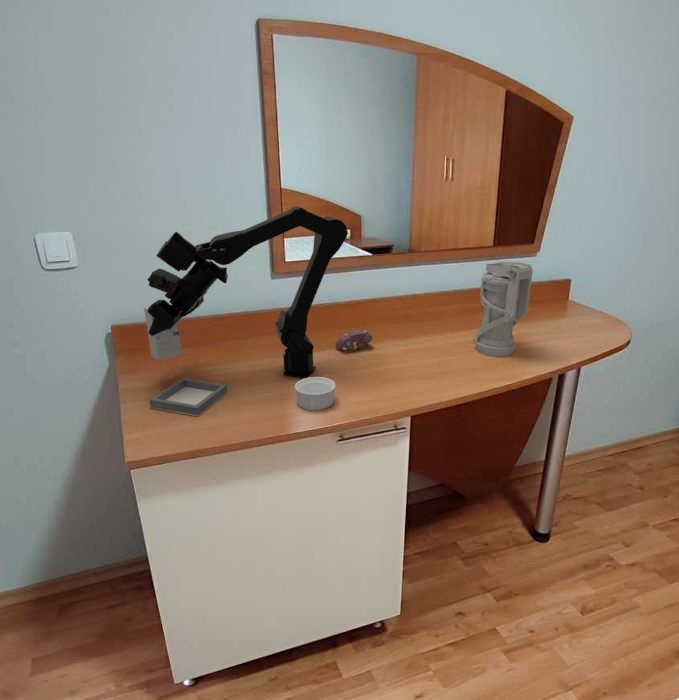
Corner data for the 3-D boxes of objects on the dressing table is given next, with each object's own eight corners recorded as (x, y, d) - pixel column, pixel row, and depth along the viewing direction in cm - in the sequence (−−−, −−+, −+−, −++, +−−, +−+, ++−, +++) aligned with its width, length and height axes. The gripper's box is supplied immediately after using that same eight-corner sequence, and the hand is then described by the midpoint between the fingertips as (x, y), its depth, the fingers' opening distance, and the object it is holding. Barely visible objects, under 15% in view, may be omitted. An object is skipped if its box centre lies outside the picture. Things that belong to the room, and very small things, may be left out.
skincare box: (158, 361, 119) (150, 311, 115) (150, 356, 122) (142, 307, 118) (183, 354, 123) (176, 305, 118) (175, 349, 126) (167, 302, 121)
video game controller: (339, 357, 142) (344, 339, 137) (333, 346, 145) (337, 328, 140) (370, 351, 146) (376, 334, 141) (364, 340, 148) (369, 323, 144)
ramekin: (339, 409, 110) (339, 391, 109) (298, 414, 108) (297, 395, 107) (331, 392, 118) (331, 375, 117) (293, 396, 117) (292, 378, 115)
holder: (227, 392, 118) (227, 384, 117) (197, 416, 108) (196, 408, 107) (183, 385, 122) (182, 377, 121) (150, 408, 111) (149, 399, 111)
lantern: (467, 347, 144) (475, 258, 135) (496, 341, 148) (505, 255, 139) (499, 363, 133) (510, 267, 124) (529, 356, 137) (542, 263, 128)
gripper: (184, 250, 122) (148, 295, 127) (149, 266, 105) (108, 318, 110) (220, 282, 124) (183, 325, 129) (191, 304, 107) (149, 352, 112)
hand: (157, 329), depth 120 cm, fingers closed on skincare box, 7 cm apart
